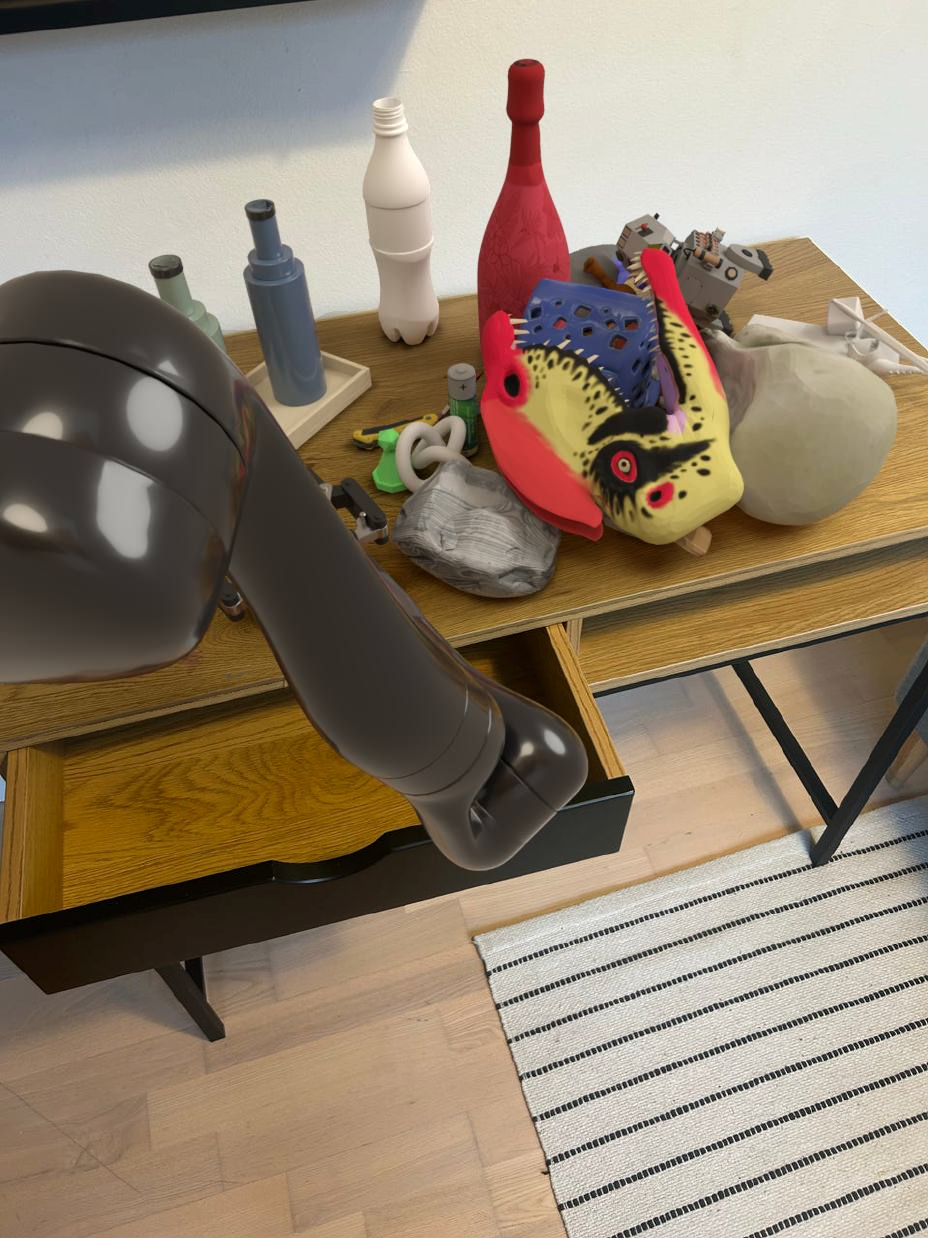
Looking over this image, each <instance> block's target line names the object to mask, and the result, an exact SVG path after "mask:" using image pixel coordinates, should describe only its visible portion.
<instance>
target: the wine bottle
mask: <svg viewBox="0 0 928 1238" xmlns="http://www.w3.org/2000/svg"><path fill="white" fill-rule="evenodd" d="M545 70H546V69H545V66H544V64H543V63H542V62H541V61H539V60H538V59H534V58H520V59H517V60H515V61H514V62H512V64H510V65H509V67H508V70H507V96H506V97H507V98H506V106H505V111H506V115H507V117H508V119H509V121H510V122H511V132H510V144H509V145H510V147H509V156H508V162H507V167H506V174H505V178H504V181H503V184H502V187H501V189H500V192H499V194H498V197H497V200H496V202H495V205H494V206H493V209H492V211H491V214H490V216H489V218H488V221H487V223H486V227H485V230H484V233H483V236H482V240H481V243H480V246H479V247H480V248H479V251H478V252H479V253H478V259H477V267H476V268H477V269H476V270H477V271H476V282H477V283H476V285H477V286H476V287H477V294H476V295H477V314H478V315H477V317H478V332H479V333H478V334H479V345H480V354H481V355H480V356H481V359H482V360H483V356H482V333H483V328H484V326H485V324H486V322H487V320H488V319H489V318H490V317H491V316H492V315H493V314H494V313H496V312H497V311H501V310H502V311H504V312H505V313H506V314H507V315H509V316H510V319H522V318H523V315H524V312H525V309H526V306H527V304H528V301H529V299H530V297H531V295H532V293H533V291H534V289H535V287H536V285H537V284H538V282H539V281H540V280H542V279H550V280H556V281H562V282H569V283H570V256H569V254H570V250H569V249H570V248H569V245H568V241H567V237H566V234H565V230H564V227H563V223H562V220H561V218H560V217H561V216H560V214H559V212H558V210H557V207H556V205H555V203H554V200H553V197H552V194H551V192H550V189H549V187H548V184H547V180H546V177H545V172H544V168H543V162H542V147H541V128H540V121H541V120H542V119H543V117H544V116H545V98H544V97H545V95H544V93H545V89H544V88H545V78H546V71H545ZM557 306H560V305H557ZM510 314H512V315H510ZM565 324H566V322H565V321H562V320H559V321H558V322H557V323H556V324H555V326H554V327H555V328H559V329H562V328H563V327H564V326H565ZM511 325H512V326H513V327H514V329H515V330H520V326H521V323H517V324H511ZM518 336H519V334H515V335H514V340H516V341H518Z"/></svg>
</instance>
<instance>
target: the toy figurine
mask: <svg viewBox="0 0 928 1238" xmlns="http://www.w3.org/2000/svg"><path fill="white" fill-rule="evenodd" d="M587 267H588V268H587ZM583 271H584V272H585V273H587V274H592V275H593V276H594V277H595V278H596V279H598V280H601V282H602V284H603V285H604V286H605V287H606V288H607V289H609V290H613V291H618V292H623V293H628V294H633V295H637V296H638V294H637V292H636V290H635V288H634V287H632V286H630V284H627V283H623V284H616V283H615V282H614V281H613V280H612V279H611V277H609V276H608V275H606V273H605V271H604V270H603V268H601V267H600V266H599V264H598V261H597V260H596V259H595V258H594V257H589V258H588V259H587V260H586V261H585V262H584V268H583ZM633 288H634V289H633ZM614 325H615V324H614V323H609V324H607V325H606V326H607V327H608V328H612V327H613V326H614Z"/></svg>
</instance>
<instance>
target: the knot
mask: <svg viewBox="0 0 928 1238" xmlns="http://www.w3.org/2000/svg"><path fill="white" fill-rule="evenodd" d="M448 434H450V435H449V438H448V442H447V443H445V441H444V439H443V438H444V437H445V436H447V435H448ZM465 436H466V425H465V423H464V421H463V420H462V419H461V418H460V417H458V416H449V417H446V418H444V419H442V420H441V421H439V422H438V423H437V424H436V425H434V426H433V427H432V426H430V425H429V424H427V423H424V422H414V423H411V424H409V425H408V426H407V427H405V428H404V430H403V431H402V432H401V434H400V436H399V438H398V441H397V444H396V451H395V461H396V467H397V471H398V474H399V477H400V479H401V481H402V482H403V484H404V485H405V486H406V487H407V488H408V489H407V490H409V491H410V492H412V494H414V493H415V492H416V491H417V489H418V488H419V487H420V486H422V485H423V484H424V483H425V482H426V481H427V480H429V479H430V478H431V477H432V476H434V475H435V474H437V473H438V471H439V470H440V469H441V468H442V467H443V466H444V465H445V464H446V463H447V462H448V461H449V460H451V459H457V460H461V461H463V462H465V463H467V464H469V465H471V466H474V465H473V464H472V462H470V460H469V459H467V457H464V456H462V455H461V454H460V453H461V450H462V448H463V445H464V441H465ZM418 437H420V441H419V442H418V443H417V445H416V447H415V448H414V450H413V451H412V449H413V444H414V442H415V441H416V440H415V439H416V438H418ZM411 452H412V453H411ZM434 462H438V466H437V467H436V469H435V470H434V472H433V473H432V474H431V475H430V477H428V478H426V479H421V478H419V477H418V476H417V474H416V472H415V473H414V471H415V470H414V471H413V469H416V470H422V469H425V468H426V467H427V466H429V465H431V464H432V463H434ZM412 467H413V469H412ZM415 474H416V475H415Z"/></svg>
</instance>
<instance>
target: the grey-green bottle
mask: <svg viewBox="0 0 928 1238" xmlns="http://www.w3.org/2000/svg"><path fill="white" fill-rule="evenodd" d="M147 267H148V270H149V273H150V275H151V277H152V279H153V282H154V284H155V287H156V290H157V293H158V296H159V298H160V299H162V300H164V301H166V302H167V303H168V304H170V305H171V306H173V307H174V308H176V309H177V310H178V311H180V312H181V313H182V314H184V315H185V316H186V317H188V318H189V319H191V320H192V321H193V322H195V323H196V324H197V325H199V326H200V327H201V328H202V329H203V330H204V331H205V332H206V333H207V334H208V335H209V336H210V337H212V338H213V339H214V340H215V341H216V342H217V344H218V345H219V346H220V347H221V348H222V349H223V350H224V351H225V352H226V353H227V354H228V355H229V352H228V349H227V345H226V342H225V338H224V335H223V332H222V328H221V325H220V321H219V320H218V317H217V316H215V315H214V314H212V313H211V312H208V311H207V308H206V305H205V304H204V302H201V300H200V301H199V300H198V299H193V297H192V293H191V291H190V288H189V284H188V281H187V278H186V275H185V271H184V269H185V268H184V263H183V261H182V258H181V257H180V256H179V255H176V254H163V255H158V256H155V257H154V258H152V259H151V260H150V261H149V262H148V264H147Z"/></svg>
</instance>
